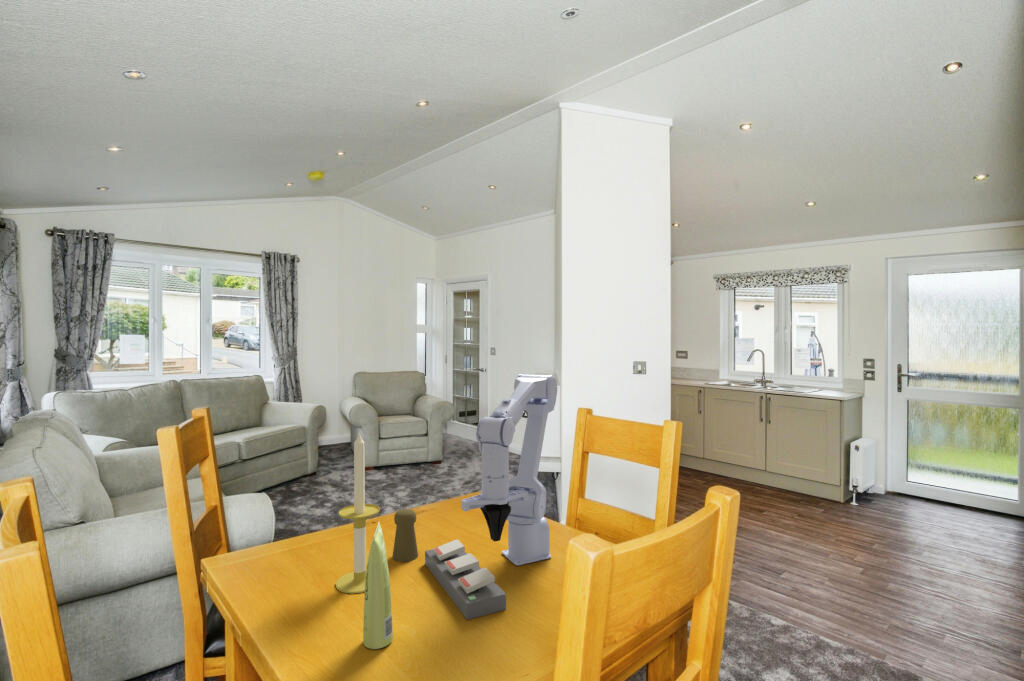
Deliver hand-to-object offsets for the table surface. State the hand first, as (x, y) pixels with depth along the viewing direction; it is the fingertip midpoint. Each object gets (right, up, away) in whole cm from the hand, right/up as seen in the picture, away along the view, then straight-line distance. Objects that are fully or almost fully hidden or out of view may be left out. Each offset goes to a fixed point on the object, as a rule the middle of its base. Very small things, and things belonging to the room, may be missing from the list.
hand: (495, 539), depth 106 cm
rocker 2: (-7, -6, +1) cm, 9 cm away
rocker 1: (-11, -6, +8) cm, 14 cm away
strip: (-7, -10, +1) cm, 12 cm away
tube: (-20, -10, -19) cm, 29 cm away
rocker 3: (-4, -6, -6) cm, 9 cm away
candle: (-29, -10, +2) cm, 31 cm away
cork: (-22, -10, +15) cm, 28 cm away
